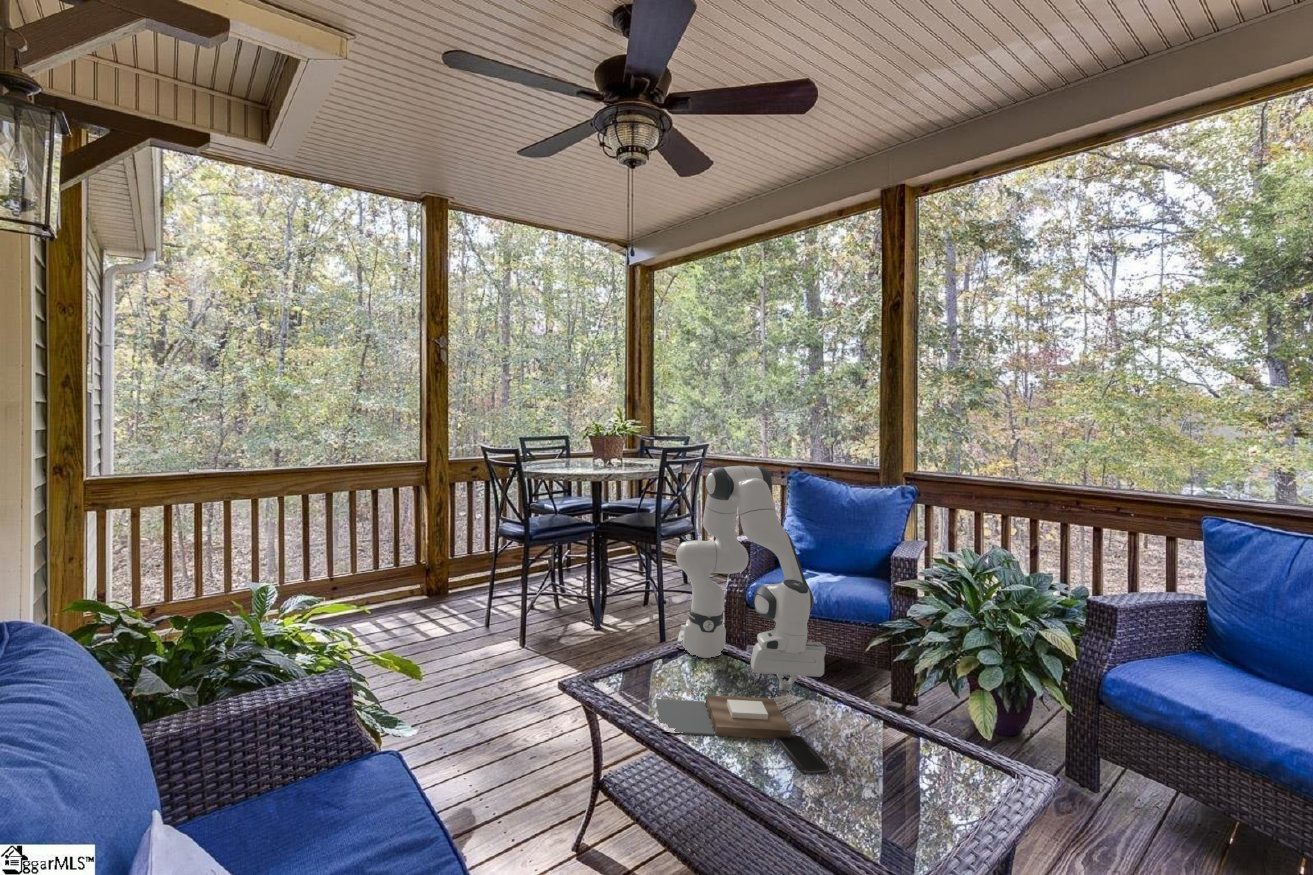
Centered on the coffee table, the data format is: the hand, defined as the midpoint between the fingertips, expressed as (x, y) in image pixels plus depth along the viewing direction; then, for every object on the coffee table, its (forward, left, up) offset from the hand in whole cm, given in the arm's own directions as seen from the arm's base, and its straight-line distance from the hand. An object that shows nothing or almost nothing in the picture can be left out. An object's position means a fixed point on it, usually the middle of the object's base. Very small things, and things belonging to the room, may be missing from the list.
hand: (785, 689), depth 169 cm
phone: (+15, +1, -11) cm, 18 cm away
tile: (0, -10, -7) cm, 12 cm away
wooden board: (-1, -10, -10) cm, 14 cm away
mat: (0, -28, -10) cm, 29 cm away
